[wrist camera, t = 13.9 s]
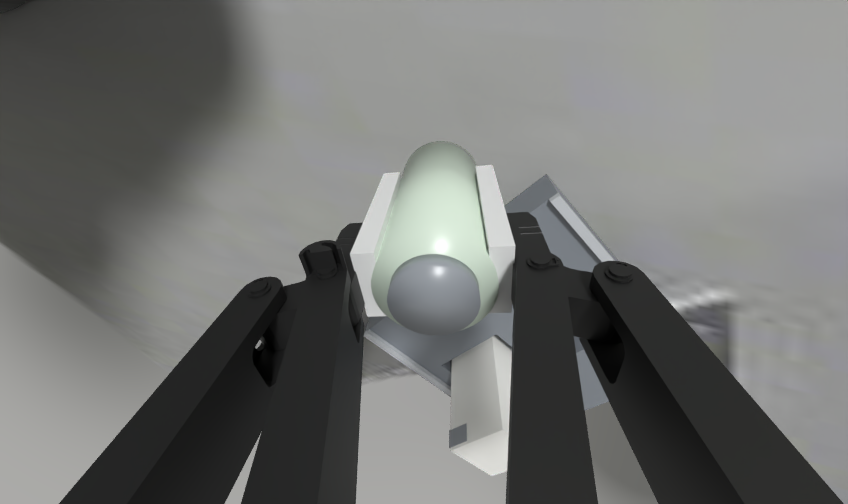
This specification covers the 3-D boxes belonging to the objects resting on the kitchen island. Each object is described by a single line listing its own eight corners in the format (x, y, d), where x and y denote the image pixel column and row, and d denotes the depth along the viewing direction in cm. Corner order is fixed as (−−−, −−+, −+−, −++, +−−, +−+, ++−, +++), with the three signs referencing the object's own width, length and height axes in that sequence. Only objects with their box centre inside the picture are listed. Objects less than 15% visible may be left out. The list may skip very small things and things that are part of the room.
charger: (451, 339, 31) (449, 450, 23) (489, 316, 29) (502, 429, 21) (482, 364, 33) (491, 476, 25) (521, 343, 31) (544, 458, 23)
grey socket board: (372, 307, 30) (363, 336, 27) (546, 174, 22) (559, 195, 19) (510, 409, 37) (514, 441, 34) (681, 336, 29) (705, 369, 26)
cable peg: (397, 145, 17) (353, 253, 9) (477, 137, 17) (501, 243, 9) (409, 214, 19) (381, 349, 11) (479, 209, 19) (500, 345, 11)
